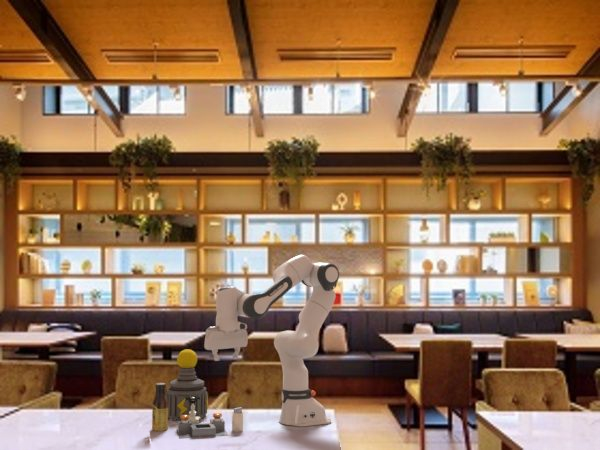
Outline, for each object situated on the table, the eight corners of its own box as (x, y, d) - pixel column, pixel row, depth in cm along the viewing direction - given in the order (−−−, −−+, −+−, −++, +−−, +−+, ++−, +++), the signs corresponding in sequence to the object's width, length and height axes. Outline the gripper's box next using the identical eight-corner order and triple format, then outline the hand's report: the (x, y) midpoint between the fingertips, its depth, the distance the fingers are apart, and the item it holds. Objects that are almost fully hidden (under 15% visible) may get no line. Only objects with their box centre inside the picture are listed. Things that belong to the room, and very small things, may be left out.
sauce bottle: (153, 431, 269) (153, 382, 270) (168, 431, 269) (169, 381, 271) (150, 435, 262) (151, 384, 264) (166, 435, 263) (167, 384, 264)
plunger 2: (221, 426, 269) (221, 412, 269) (222, 428, 266) (222, 414, 266) (212, 427, 268) (212, 413, 269) (213, 429, 265) (213, 415, 265)
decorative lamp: (204, 421, 287) (204, 351, 289) (160, 421, 287) (162, 351, 290) (210, 412, 306) (211, 347, 308) (170, 412, 306) (171, 346, 308)
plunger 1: (188, 428, 266) (189, 414, 266) (189, 430, 262) (189, 416, 263) (179, 428, 265) (180, 415, 265) (180, 431, 261) (180, 416, 262)
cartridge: (237, 430, 268) (238, 406, 268) (245, 432, 265) (245, 408, 265) (229, 432, 265) (230, 408, 265) (237, 434, 262) (237, 409, 262)
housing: (223, 430, 271) (223, 418, 271) (228, 439, 256) (228, 426, 257) (176, 433, 266) (176, 420, 266) (179, 442, 252) (179, 429, 252)
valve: (197, 428, 275) (197, 398, 276) (182, 427, 277) (182, 398, 277) (202, 424, 282) (202, 396, 283) (187, 423, 283) (188, 395, 284)
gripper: (210, 327, 262) (210, 362, 261) (250, 324, 276) (249, 358, 275) (201, 326, 267) (200, 361, 266) (240, 323, 281) (240, 356, 280)
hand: (226, 359), depth 271 cm, fingers open, 8 cm apart
